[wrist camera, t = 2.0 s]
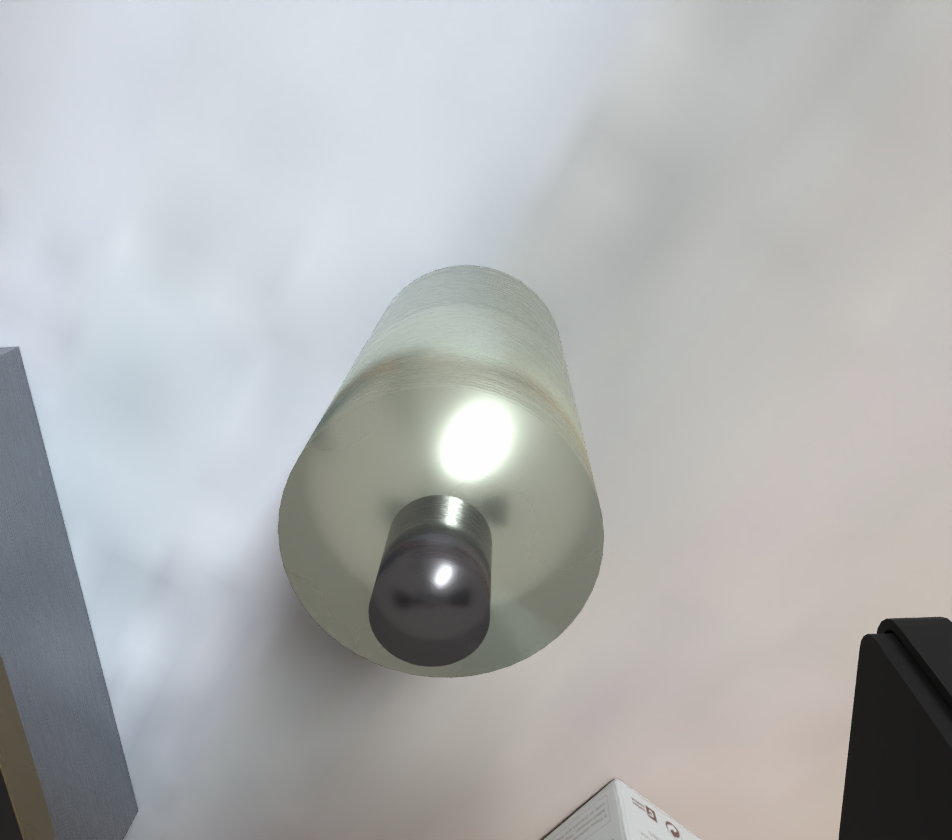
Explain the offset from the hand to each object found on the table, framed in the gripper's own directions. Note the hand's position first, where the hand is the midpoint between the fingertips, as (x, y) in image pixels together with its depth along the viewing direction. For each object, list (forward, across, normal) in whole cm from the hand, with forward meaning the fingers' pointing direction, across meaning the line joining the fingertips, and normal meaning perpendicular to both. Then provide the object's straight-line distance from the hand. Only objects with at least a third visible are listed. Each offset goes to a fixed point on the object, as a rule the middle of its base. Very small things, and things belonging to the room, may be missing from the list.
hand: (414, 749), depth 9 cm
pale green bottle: (+14, 0, 0) cm, 14 cm away
